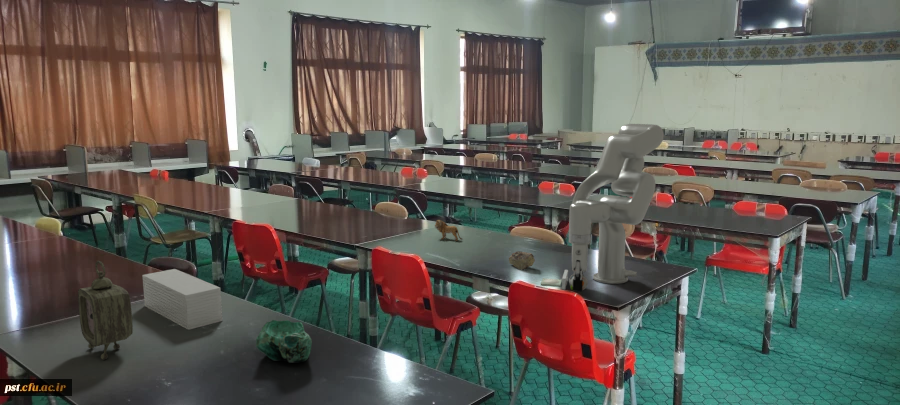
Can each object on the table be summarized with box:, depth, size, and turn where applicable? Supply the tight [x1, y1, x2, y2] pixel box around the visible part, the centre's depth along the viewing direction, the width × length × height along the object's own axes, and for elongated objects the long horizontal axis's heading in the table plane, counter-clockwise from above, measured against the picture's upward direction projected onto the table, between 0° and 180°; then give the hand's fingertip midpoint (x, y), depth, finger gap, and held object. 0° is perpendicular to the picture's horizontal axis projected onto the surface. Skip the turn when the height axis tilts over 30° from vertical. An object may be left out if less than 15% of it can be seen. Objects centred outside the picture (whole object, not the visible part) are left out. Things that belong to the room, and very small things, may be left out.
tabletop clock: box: [77, 260, 134, 360], centre depth 171 cm, size 14×9×25 cm, turn 45°
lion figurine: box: [434, 219, 464, 242], centre depth 310 cm, size 15×5×9 cm, turn 64°
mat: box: [540, 277, 562, 287], centre depth 237 cm, size 7×7×1 cm
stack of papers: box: [142, 268, 223, 331], centre depth 204 cm, size 32×11×11 cm, turn 46°
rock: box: [508, 250, 536, 271], centre depth 258 cm, size 7×11×10 cm
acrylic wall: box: [561, 269, 569, 291], centre depth 234 cm, size 1×12×4 cm, turn 166°
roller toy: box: [568, 273, 589, 292], centre depth 228 cm, size 4×6×6 cm
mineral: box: [255, 319, 313, 364], centre depth 167 cm, size 18×16×10 cm
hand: (578, 287), depth 228 cm, fingers open, 6 cm apart
